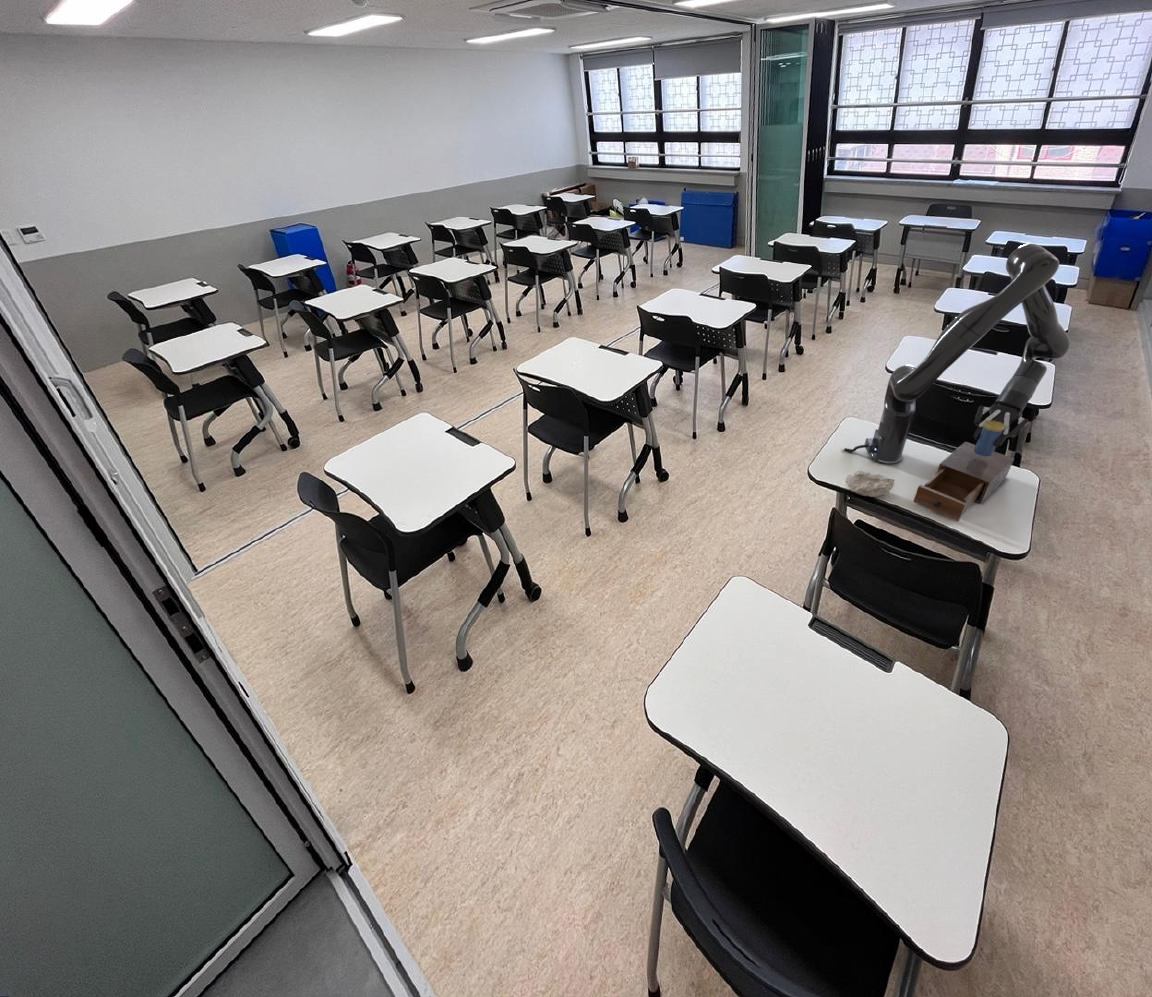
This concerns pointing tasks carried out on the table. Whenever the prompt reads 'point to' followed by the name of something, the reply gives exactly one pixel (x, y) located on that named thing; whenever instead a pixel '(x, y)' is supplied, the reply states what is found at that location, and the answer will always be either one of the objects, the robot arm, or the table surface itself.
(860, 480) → the stone
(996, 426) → the tin
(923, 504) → the drawer
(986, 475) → the cabinet
